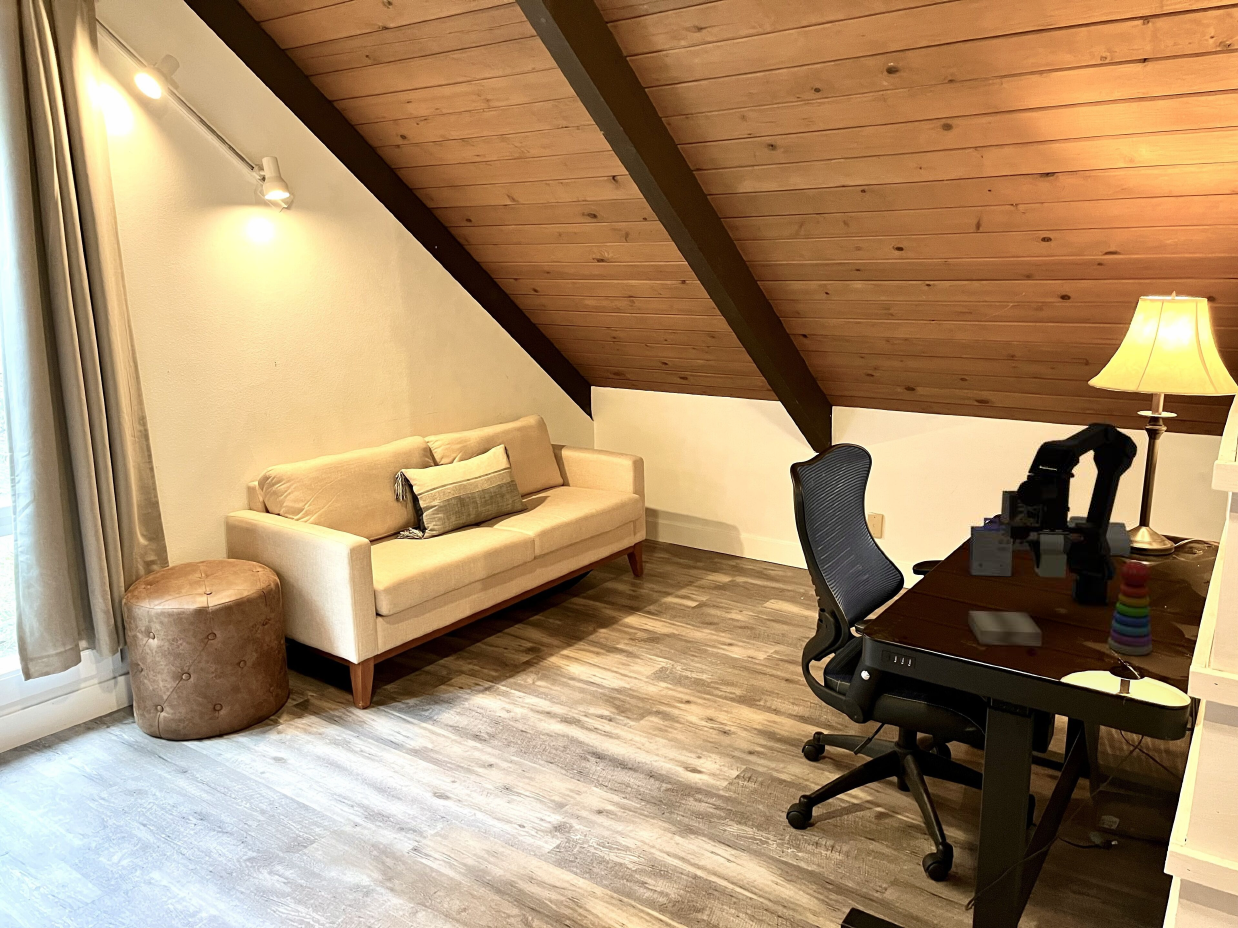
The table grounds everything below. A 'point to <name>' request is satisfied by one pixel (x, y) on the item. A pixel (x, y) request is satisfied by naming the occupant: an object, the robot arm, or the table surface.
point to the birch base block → (1004, 628)
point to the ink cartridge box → (990, 550)
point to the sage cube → (1052, 563)
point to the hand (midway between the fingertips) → (1049, 568)
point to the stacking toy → (1132, 612)
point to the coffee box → (1014, 516)
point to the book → (1115, 537)
